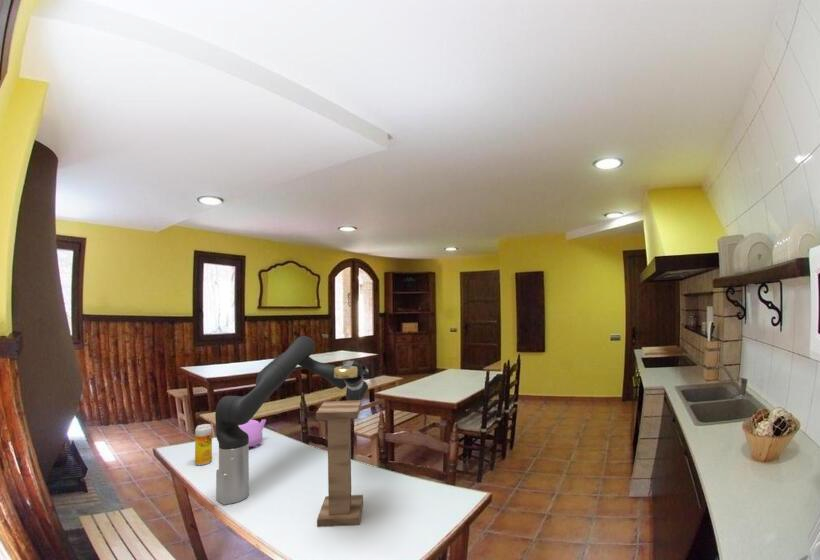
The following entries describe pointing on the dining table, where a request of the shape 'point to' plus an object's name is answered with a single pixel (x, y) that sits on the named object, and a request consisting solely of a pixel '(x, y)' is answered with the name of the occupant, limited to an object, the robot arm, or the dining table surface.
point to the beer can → (203, 444)
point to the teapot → (253, 431)
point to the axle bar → (345, 371)
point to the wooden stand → (339, 465)
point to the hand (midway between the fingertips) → (349, 362)
